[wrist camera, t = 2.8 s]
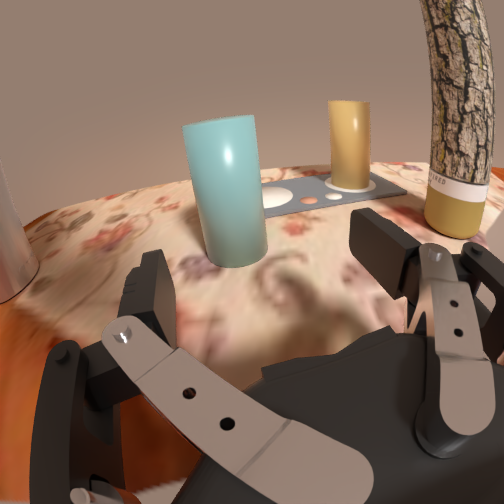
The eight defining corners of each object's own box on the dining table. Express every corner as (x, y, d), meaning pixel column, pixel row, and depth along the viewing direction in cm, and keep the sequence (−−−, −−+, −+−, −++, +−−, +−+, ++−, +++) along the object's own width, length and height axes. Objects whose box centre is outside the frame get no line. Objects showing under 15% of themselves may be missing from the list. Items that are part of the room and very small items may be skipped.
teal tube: (210, 273, 21) (180, 129, 16) (205, 242, 26) (182, 124, 20) (275, 259, 22) (262, 116, 16) (259, 230, 26) (245, 113, 21)
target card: (219, 227, 28) (218, 223, 28) (210, 196, 36) (210, 192, 36) (406, 193, 31) (407, 190, 31) (365, 172, 39) (365, 169, 39)
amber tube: (343, 192, 32) (341, 101, 26) (324, 179, 36) (320, 100, 30) (376, 187, 32) (377, 103, 27) (356, 175, 37) (354, 100, 31)
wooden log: (443, 244, 21) (441, -26, 7) (412, 212, 26) (405, -10, 13) (488, 239, 20) (493, 1, 7) (455, 211, 26) (454, 8, 13)
